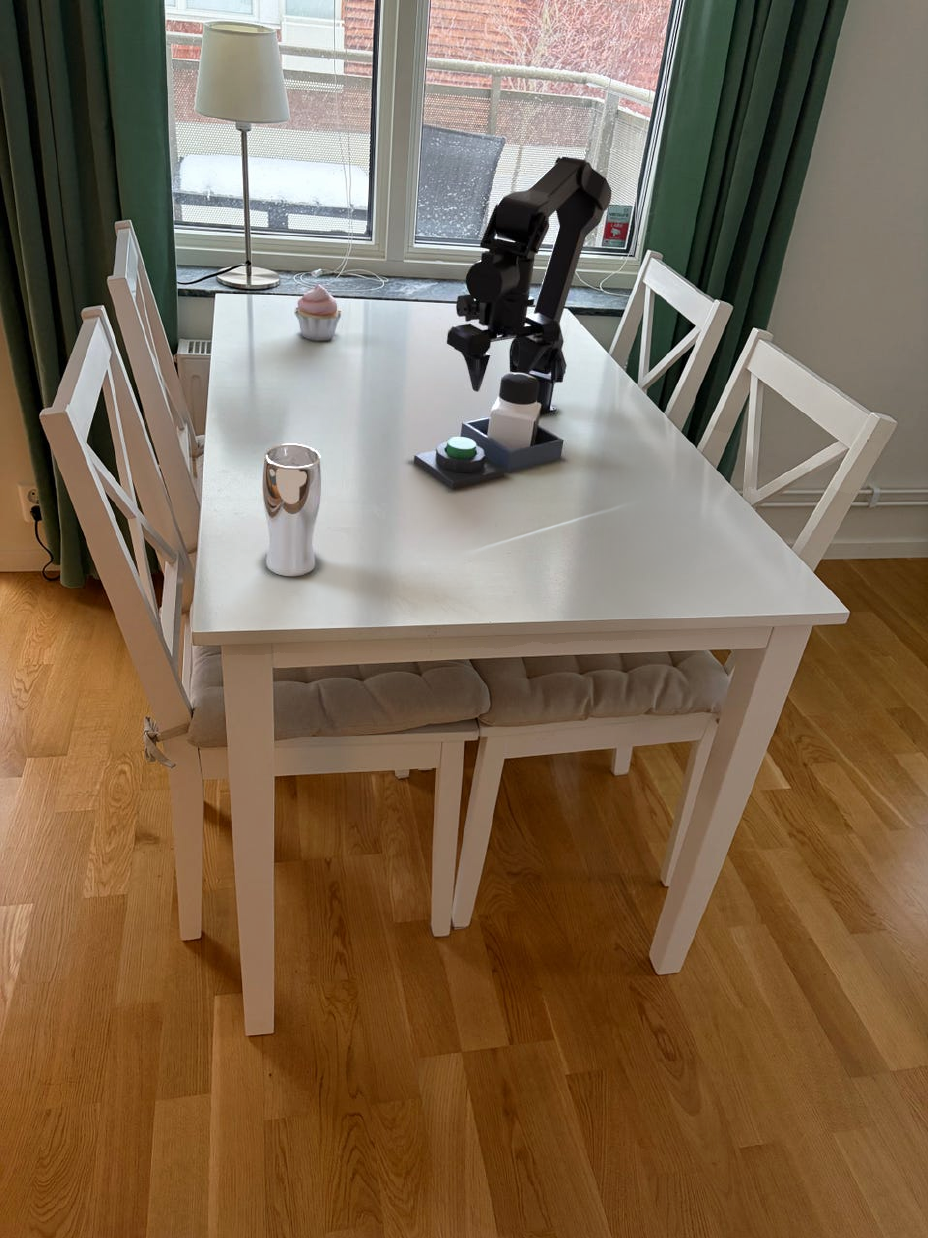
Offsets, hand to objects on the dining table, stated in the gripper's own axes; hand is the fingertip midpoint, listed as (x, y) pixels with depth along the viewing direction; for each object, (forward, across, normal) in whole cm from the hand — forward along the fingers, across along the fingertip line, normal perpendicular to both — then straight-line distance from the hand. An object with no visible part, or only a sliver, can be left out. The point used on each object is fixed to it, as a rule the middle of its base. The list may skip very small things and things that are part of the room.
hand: (497, 386), depth 159 cm
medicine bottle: (+9, 0, +5) cm, 10 cm away
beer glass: (+9, +48, +18) cm, 53 cm away
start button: (+6, +12, +7) cm, 15 cm away
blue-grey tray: (+9, 0, +5) cm, 10 cm away
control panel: (+9, +12, +7) cm, 17 cm away
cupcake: (+9, +2, -52) cm, 53 cm away
